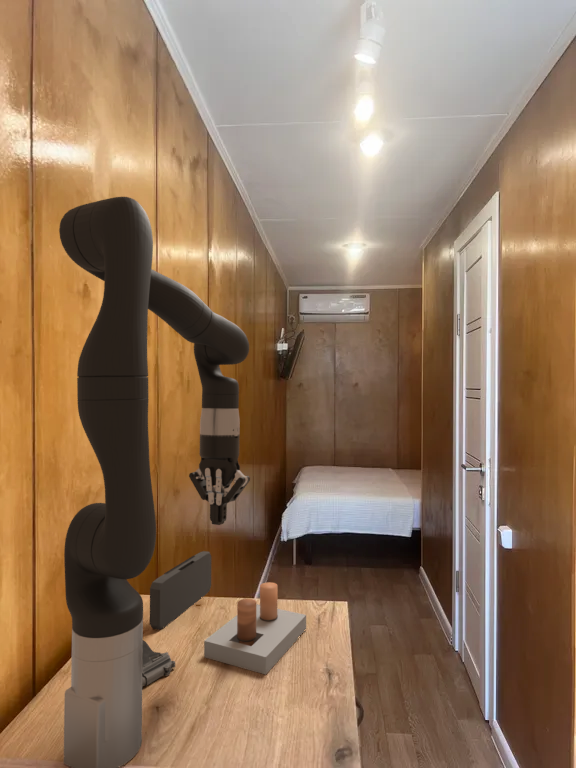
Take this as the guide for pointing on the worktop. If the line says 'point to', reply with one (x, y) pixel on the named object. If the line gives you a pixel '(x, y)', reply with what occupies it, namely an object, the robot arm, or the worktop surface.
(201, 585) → the handheld gaming console
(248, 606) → the cherry peg
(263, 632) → the jig board
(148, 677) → the handgun
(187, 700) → the worktop surface
